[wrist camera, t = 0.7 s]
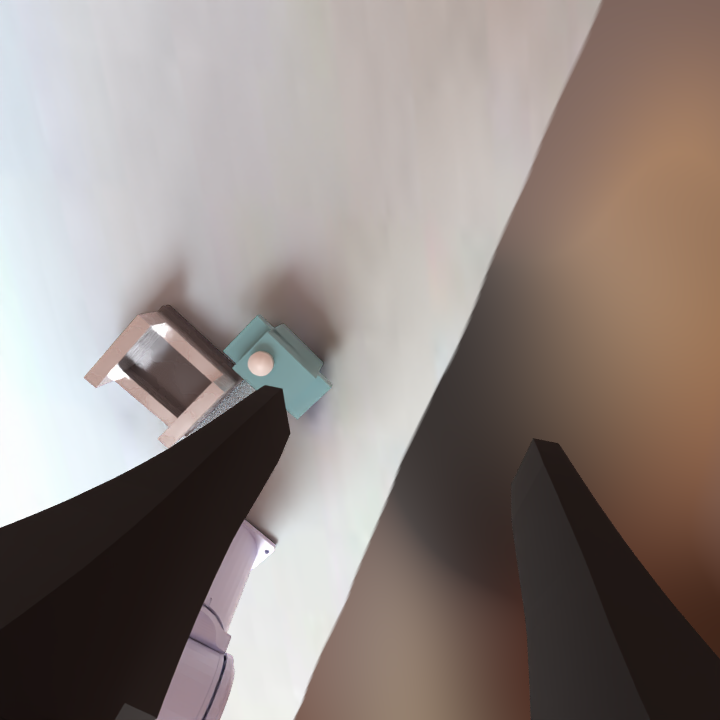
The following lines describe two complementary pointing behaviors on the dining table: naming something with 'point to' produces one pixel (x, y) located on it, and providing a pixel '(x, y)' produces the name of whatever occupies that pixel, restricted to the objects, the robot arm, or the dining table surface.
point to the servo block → (278, 364)
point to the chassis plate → (168, 371)
